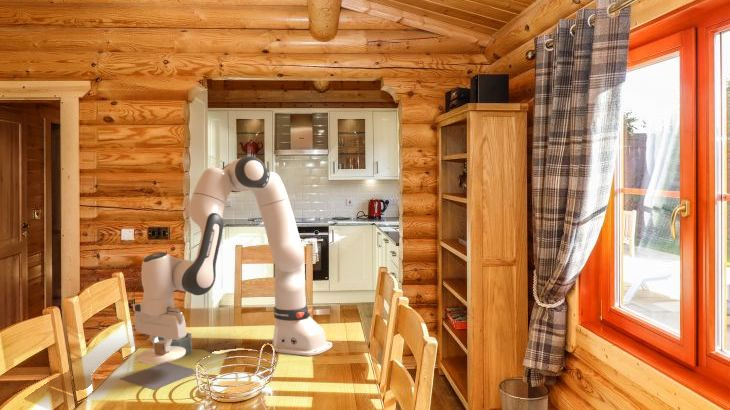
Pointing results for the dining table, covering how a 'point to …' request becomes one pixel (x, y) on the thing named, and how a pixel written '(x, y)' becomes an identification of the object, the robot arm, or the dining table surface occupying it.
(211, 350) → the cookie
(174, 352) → the lid
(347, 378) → the dining table surface
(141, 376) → the mat
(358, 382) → the dining table surface
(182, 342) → the grey octagonal ring
